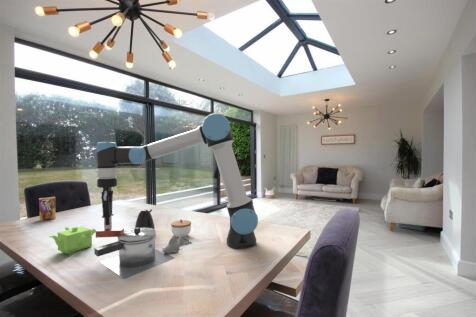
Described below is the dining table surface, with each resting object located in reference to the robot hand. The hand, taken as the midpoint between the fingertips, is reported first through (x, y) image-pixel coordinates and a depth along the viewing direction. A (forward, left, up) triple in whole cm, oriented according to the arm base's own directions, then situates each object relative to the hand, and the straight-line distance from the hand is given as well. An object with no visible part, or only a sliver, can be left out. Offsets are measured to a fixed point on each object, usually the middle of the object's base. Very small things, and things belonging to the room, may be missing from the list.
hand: (108, 231), depth 105 cm
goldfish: (-14, -26, -13) cm, 33 cm away
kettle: (+22, +7, -12) cm, 26 cm away
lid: (-10, -3, -1) cm, 11 cm away
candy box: (+100, 0, -12) cm, 101 cm away
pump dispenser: (+13, -24, -12) cm, 30 cm away
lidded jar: (-2, -37, -12) cm, 39 cm away
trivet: (-13, -6, -12) cm, 19 cm away
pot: (-13, -2, -11) cm, 17 cm away
